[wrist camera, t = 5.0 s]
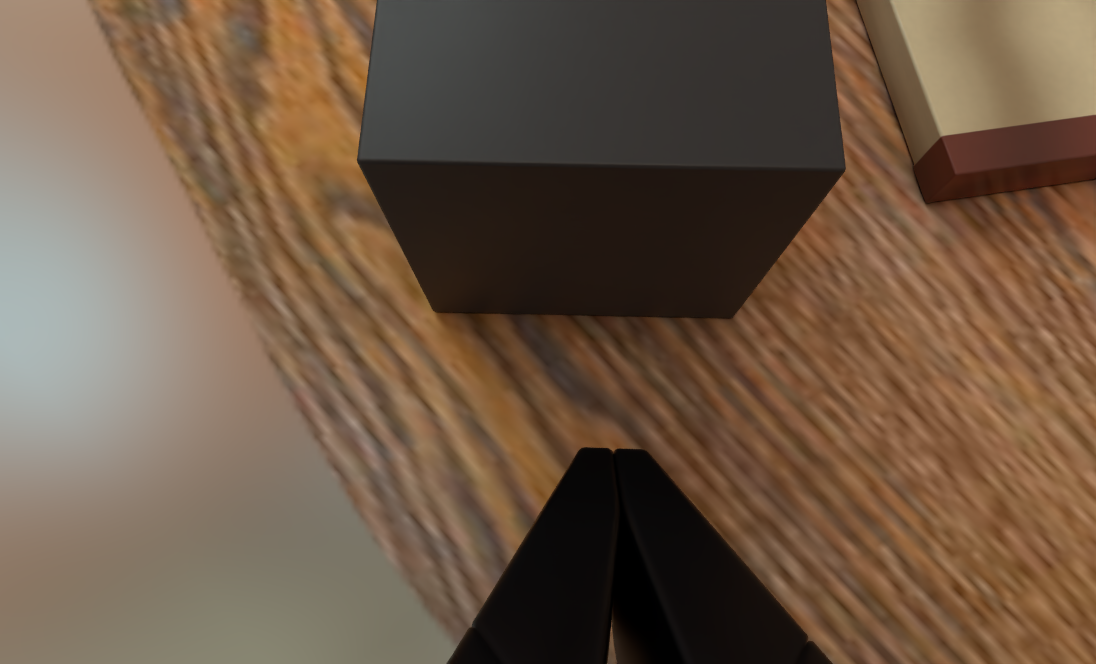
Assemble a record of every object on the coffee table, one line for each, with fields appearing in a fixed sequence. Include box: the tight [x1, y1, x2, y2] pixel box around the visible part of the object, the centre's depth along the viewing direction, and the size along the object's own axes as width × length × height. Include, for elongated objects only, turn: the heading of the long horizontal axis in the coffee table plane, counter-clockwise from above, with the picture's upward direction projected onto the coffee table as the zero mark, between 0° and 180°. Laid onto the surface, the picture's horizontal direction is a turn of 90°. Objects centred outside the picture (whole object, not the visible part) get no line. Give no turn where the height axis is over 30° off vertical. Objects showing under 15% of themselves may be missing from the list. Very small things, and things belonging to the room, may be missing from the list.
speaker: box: [357, 0, 846, 318], centre depth 17 cm, size 12×8×8 cm
